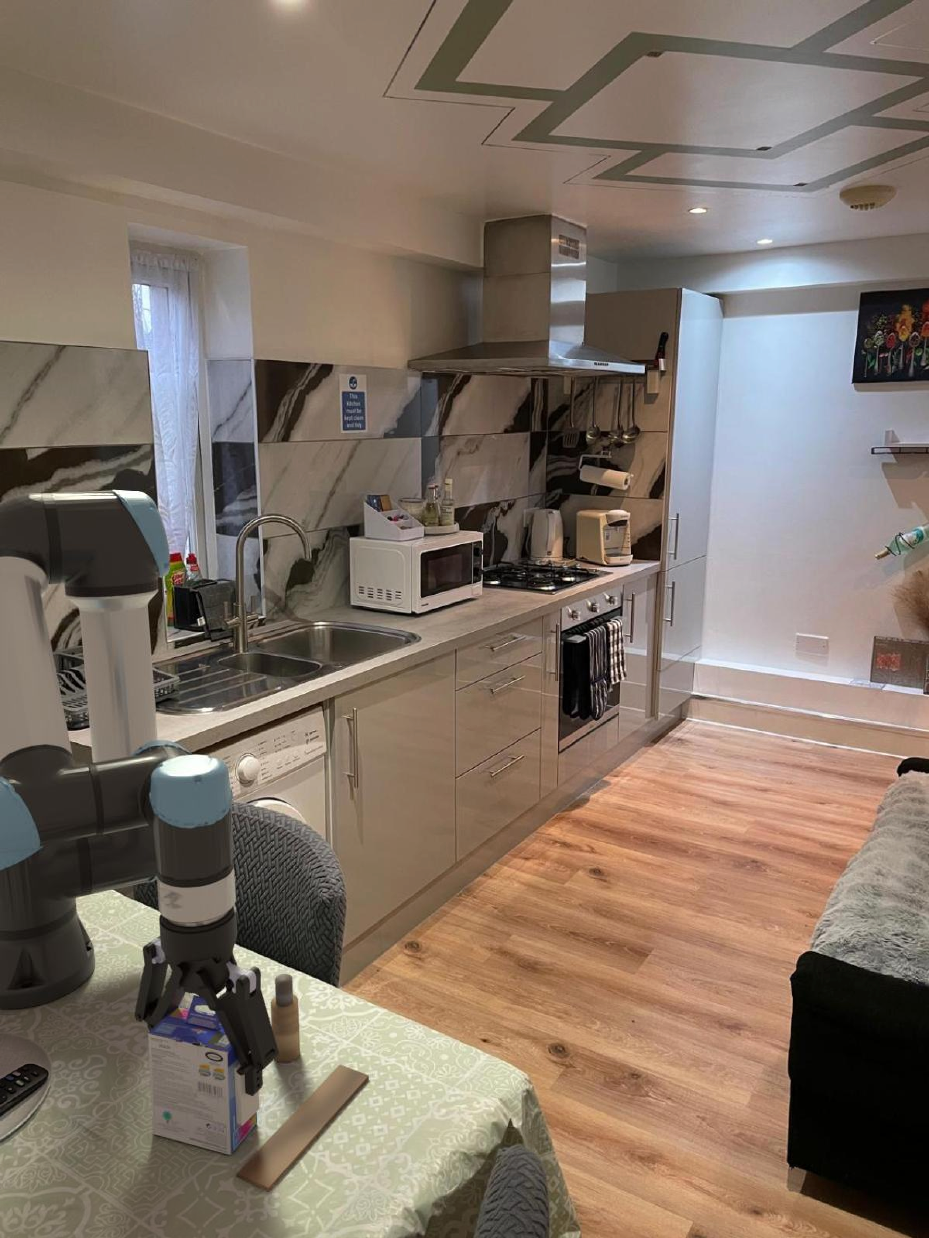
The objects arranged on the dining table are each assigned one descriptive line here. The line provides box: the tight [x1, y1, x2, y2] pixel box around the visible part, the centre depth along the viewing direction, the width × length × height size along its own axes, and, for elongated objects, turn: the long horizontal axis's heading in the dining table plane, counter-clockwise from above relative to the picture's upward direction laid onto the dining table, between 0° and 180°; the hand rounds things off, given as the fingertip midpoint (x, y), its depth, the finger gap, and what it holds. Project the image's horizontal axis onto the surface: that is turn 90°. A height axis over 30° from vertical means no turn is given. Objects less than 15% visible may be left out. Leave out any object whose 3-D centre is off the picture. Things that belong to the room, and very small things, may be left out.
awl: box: [270, 973, 301, 1064], centre depth 109 cm, size 3×3×10 cm
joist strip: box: [236, 1064, 370, 1192], centre depth 99 cm, size 4×18×1 cm, turn 153°
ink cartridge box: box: [147, 994, 258, 1156], centre depth 97 cm, size 10×6×14 cm, turn 72°
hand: (208, 1098), depth 98 cm, fingers open, 10 cm apart
